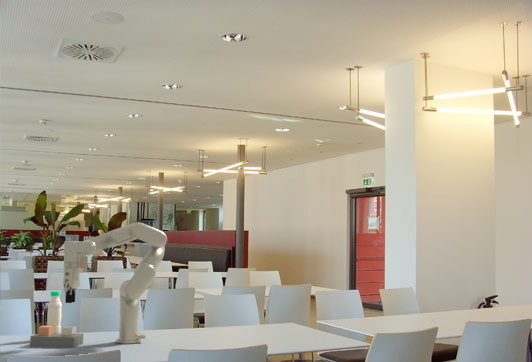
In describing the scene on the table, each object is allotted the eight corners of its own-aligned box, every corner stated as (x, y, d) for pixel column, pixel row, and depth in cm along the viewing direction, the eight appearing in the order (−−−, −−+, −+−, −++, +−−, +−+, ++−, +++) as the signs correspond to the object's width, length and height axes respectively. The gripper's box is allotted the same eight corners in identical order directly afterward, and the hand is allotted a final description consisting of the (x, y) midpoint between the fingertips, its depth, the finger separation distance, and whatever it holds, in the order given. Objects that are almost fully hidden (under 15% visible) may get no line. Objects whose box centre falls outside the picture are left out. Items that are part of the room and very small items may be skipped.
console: (83, 343, 309) (83, 333, 309) (73, 347, 297) (73, 337, 297) (41, 342, 311) (41, 332, 311) (30, 346, 299) (30, 336, 299)
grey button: (76, 336, 306) (76, 326, 306) (71, 338, 301) (72, 327, 301) (66, 336, 306) (66, 326, 307) (61, 337, 301) (62, 327, 302)
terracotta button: (52, 335, 307) (53, 325, 307) (48, 337, 302) (48, 327, 302) (43, 335, 307) (43, 325, 308) (38, 337, 302) (38, 327, 303)
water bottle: (56, 340, 316) (57, 291, 318) (43, 340, 318) (45, 291, 320) (63, 338, 323) (64, 290, 325) (51, 338, 324) (52, 290, 327)
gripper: (72, 266, 298) (70, 304, 297) (85, 264, 314) (83, 300, 313) (57, 266, 299) (55, 304, 297) (71, 264, 315) (69, 300, 313)
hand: (70, 302), depth 305 cm, fingers open, 3 cm apart
